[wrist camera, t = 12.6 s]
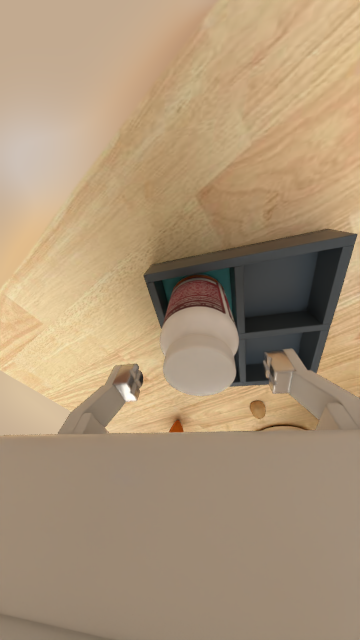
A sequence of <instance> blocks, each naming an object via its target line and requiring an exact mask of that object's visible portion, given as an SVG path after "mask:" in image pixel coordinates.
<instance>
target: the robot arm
mask: <svg viewBox="0 0 360 640" xmlns="http://www.w3.org/2000/svg"><path fill="white" fill-rule="evenodd" d="M263 357H264V359H265V360H264V361H263V370H264V373H265V376H266V377H267V378H268V379H269V386H270V388H271V391H272V393H273V394H274V393H289V394H290V395H291V396H292V397H293V398H294V399H296V400H297V401H298V402H299V403H300V404H301V405H302V406H304V407H305V408H306V409H307V410H308V411H309V412H310V413H312V414H313V415H314V416H315V417H316V418H317V419H318V420H319V422H318V425H317V427H316V429H315V430H289V431H228V432H168V433H109V432H108V431H107V430H106V429H105V427H106V426H107V424H108V423H109V422H110V421H111V420H112V418H113V417H114V416H115V415H116V414H117V412H118V411H119V410H120V409H121V407H122V406H123V405H124V404H125V402H129V401H137V400H138V397H139V394H140V390H139V388H140V387H141V386H142V384H143V375H142V372H141V371H139V370H138V369H139V366H138V365H137V364H127V365H116V366H115V367H114V368H113V370H112V372H111V374H110V376H109V378H108V380H107V382H106V384H105V385H104V386H102V387H100V388H99V389H98V390H97V391H96V392H94V393H93V394H92V395H91V396H90V397H89V398H87V399H86V400H85V401H84V402H83V403H81V404H80V405H79V406H78V407H77V408H76V409H74V410H73V411H72V412H71V413H70V414H69V416H68V418H67V419H66V421H65V423H64V424H63V426H62V428H61V429H60V431H59V432H58V434H46V435H3V436H0V640H360V398H358V397H356V396H355V395H353V394H351V393H349V392H348V391H346V390H344V389H342V388H341V387H339V386H337V385H336V384H334V383H332V382H330V381H329V380H327V379H325V378H323V377H322V376H320V375H318V374H316V373H315V372H313V371H311V370H307V369H306V367H305V366H304V364H303V363H302V361H301V360H300V358H299V357H298V355H297V354H296V352H295V351H294V350H293V349H292V348H291V349H282V350H272V351H264V353H263Z"/></svg>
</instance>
